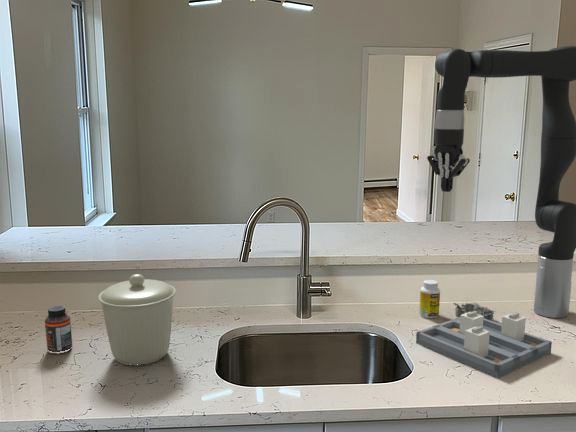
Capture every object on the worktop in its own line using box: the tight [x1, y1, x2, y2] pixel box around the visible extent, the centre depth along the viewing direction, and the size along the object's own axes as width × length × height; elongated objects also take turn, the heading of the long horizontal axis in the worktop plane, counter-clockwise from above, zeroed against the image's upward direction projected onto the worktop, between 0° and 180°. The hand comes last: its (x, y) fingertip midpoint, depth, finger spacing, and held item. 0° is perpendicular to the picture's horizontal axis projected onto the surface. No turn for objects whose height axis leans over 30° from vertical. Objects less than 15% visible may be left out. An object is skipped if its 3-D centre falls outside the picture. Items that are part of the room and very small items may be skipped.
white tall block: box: [460, 311, 484, 335], centre depth 148 cm, size 4×4×7 cm
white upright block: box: [501, 312, 526, 342], centre depth 147 cm, size 4×4×7 cm
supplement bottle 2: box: [418, 279, 441, 319], centre depth 168 cm, size 6×6×10 cm
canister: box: [97, 273, 177, 366], centre depth 140 cm, size 18×18×21 cm
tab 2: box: [464, 326, 490, 357], centre depth 138 cm, size 4×4×7 cm
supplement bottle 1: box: [44, 304, 73, 352], centre depth 145 cm, size 6×6×11 cm
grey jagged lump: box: [453, 302, 497, 322], centre depth 166 cm, size 11×8×4 cm
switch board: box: [415, 317, 553, 379], centre depth 146 cm, size 22×24×3 cm
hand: (446, 191), depth 158 cm, fingers closed
